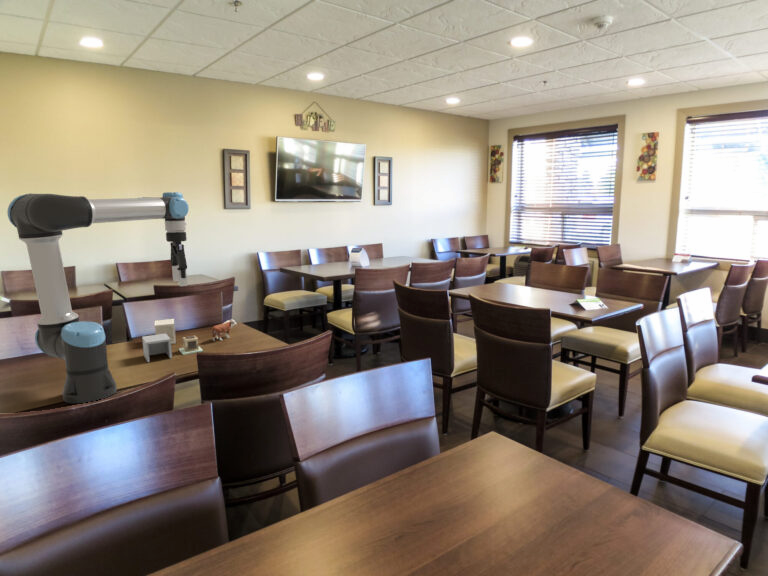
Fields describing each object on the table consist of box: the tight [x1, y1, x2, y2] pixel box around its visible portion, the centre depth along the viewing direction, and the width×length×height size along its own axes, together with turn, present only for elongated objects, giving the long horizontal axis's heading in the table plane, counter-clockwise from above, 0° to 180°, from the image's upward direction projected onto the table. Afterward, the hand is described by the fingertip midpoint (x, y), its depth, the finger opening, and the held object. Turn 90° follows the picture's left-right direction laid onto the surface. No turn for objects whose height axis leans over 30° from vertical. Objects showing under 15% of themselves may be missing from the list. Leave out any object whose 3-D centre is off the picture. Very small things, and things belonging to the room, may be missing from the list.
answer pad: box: [178, 346, 204, 356], centre depth 208 cm, size 8×8×1 cm
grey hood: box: [141, 333, 173, 363], centre depth 199 cm, size 10×9×8 cm
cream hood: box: [154, 318, 177, 345], centre depth 221 cm, size 10×9×8 cm
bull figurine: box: [211, 318, 238, 342], centre depth 225 cm, size 4×13×8 cm, turn 148°
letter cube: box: [182, 335, 200, 352], centre depth 207 cm, size 5×5×5 cm
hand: (180, 283), depth 202 cm, fingers open, 13 cm apart
